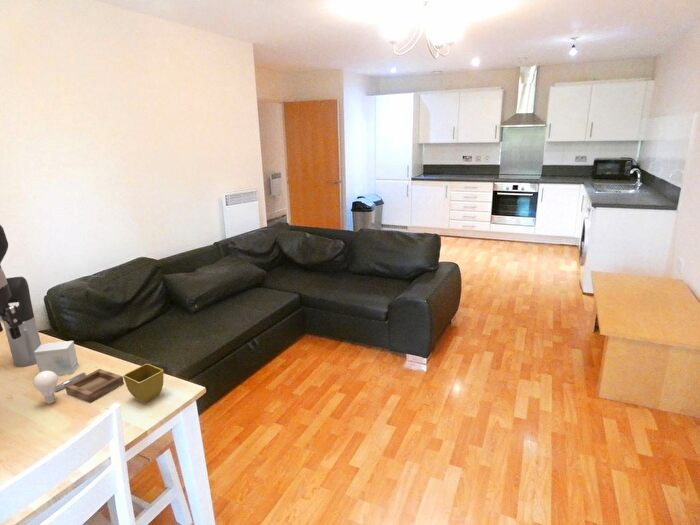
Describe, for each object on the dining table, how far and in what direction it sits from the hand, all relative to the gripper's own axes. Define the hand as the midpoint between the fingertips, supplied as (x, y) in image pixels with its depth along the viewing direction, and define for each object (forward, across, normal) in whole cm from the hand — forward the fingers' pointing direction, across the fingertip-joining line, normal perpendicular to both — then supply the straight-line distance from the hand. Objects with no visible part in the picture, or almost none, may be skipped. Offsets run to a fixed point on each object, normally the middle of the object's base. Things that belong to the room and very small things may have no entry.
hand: (7, 335), depth 124 cm
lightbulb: (+26, +5, +3) cm, 26 cm away
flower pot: (+26, +32, +17) cm, 44 cm away
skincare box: (+27, -12, +17) cm, 34 cm away
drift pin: (+26, 0, +12) cm, 29 cm away
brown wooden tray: (+26, +11, +14) cm, 31 cm away
